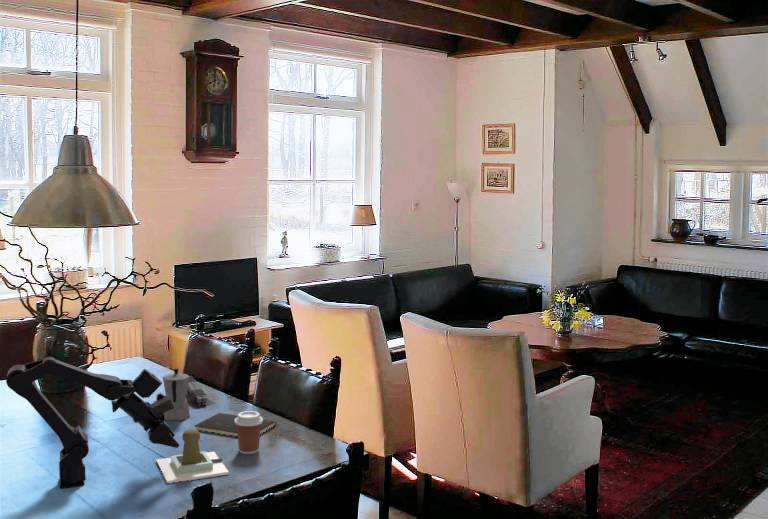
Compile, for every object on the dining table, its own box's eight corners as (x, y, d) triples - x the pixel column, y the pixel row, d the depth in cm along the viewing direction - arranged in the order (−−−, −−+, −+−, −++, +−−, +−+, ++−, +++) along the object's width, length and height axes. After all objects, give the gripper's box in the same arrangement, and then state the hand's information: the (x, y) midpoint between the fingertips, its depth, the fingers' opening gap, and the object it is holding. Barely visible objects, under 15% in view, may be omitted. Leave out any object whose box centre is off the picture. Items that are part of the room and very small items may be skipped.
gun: (190, 390, 326) (192, 369, 322) (205, 419, 311) (208, 397, 307) (179, 391, 323) (181, 370, 319) (194, 421, 308) (197, 399, 304)
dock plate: (167, 483, 234) (167, 474, 234) (156, 462, 250) (156, 453, 250) (230, 474, 242) (230, 465, 241) (215, 453, 258) (215, 445, 258)
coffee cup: (231, 447, 264) (231, 411, 262) (259, 443, 268) (259, 408, 266) (238, 457, 256) (237, 420, 254) (266, 453, 259) (266, 417, 258)
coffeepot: (165, 411, 299) (164, 364, 296) (191, 411, 300) (190, 363, 298) (160, 425, 284) (159, 375, 281) (188, 424, 285) (187, 374, 283)
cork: (184, 461, 249) (184, 426, 248) (204, 462, 248) (204, 427, 247) (178, 468, 243) (178, 433, 242) (198, 469, 242) (198, 434, 241)
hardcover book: (252, 441, 271) (252, 434, 271) (194, 431, 280) (194, 425, 279) (275, 426, 286) (275, 420, 286) (220, 418, 294) (220, 412, 294)
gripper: (161, 397, 230) (200, 431, 236) (153, 380, 247) (190, 412, 253) (132, 426, 228) (172, 460, 234) (126, 407, 245) (164, 439, 251)
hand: (175, 441), depth 243 cm, fingers open, 9 cm apart
